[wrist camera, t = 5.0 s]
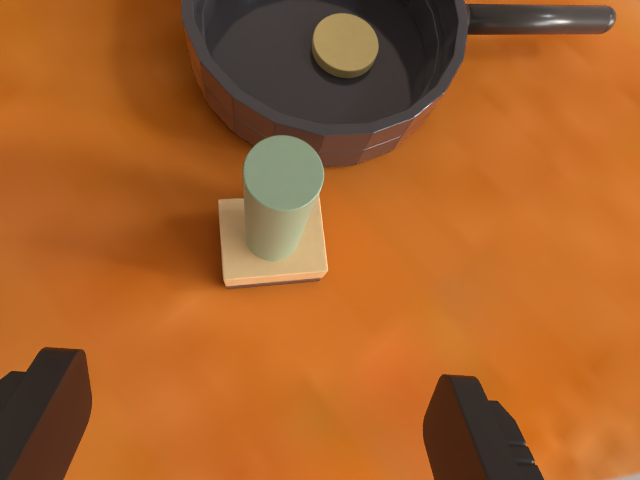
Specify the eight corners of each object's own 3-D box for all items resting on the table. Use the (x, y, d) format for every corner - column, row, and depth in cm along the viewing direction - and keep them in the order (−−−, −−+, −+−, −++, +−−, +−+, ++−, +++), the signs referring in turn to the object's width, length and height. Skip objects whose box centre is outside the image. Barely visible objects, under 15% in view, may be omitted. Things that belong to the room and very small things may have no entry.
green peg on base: (226, 289, 24) (207, 238, 14) (221, 216, 25) (199, 117, 15) (319, 280, 25) (368, 227, 15) (311, 210, 26) (352, 112, 16)
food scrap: (315, 79, 28) (317, 71, 27) (308, 21, 29) (309, 12, 28) (379, 78, 28) (383, 70, 28) (370, 21, 29) (374, 12, 28)
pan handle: (447, 40, 27) (459, 21, 26) (442, 17, 28) (453, -3, 26) (606, 39, 29) (625, 22, 28) (599, 17, 29) (618, -1, 28)
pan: (198, 176, 26) (187, 140, 21) (186, -50, 29) (174, -121, 25) (455, 163, 28) (492, 128, 24) (415, -44, 32) (441, -107, 27)
